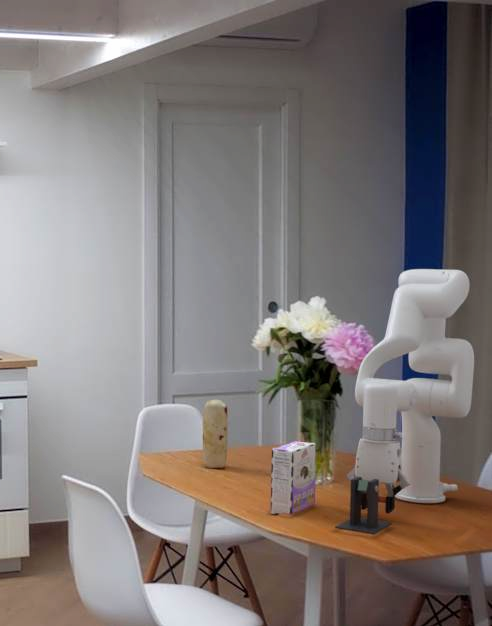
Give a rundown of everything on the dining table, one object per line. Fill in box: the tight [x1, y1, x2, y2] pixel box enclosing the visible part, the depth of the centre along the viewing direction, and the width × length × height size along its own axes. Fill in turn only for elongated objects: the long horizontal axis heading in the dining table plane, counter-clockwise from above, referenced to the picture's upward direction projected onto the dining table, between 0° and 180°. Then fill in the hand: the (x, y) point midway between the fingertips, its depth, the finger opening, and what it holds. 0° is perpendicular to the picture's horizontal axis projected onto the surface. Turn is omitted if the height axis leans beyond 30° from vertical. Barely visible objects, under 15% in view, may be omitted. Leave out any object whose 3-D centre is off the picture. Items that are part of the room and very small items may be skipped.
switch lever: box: [357, 480, 387, 504], centre depth 250 cm, size 12×5×2 cm, turn 143°
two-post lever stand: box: [334, 477, 393, 535], centre depth 247 cm, size 12×9×12 cm
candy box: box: [269, 440, 317, 516], centre depth 264 cm, size 14×6×16 cm, turn 141°
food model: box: [202, 399, 229, 469], centre depth 318 cm, size 10×7×20 cm
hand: (376, 509), depth 254 cm, fingers closed on switch lever, 5 cm apart
